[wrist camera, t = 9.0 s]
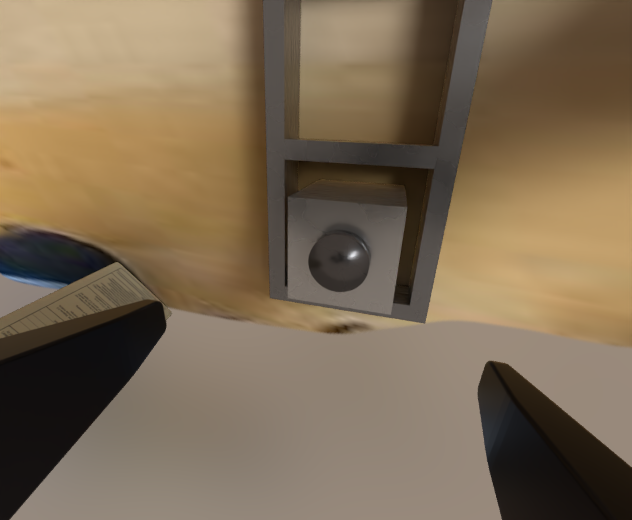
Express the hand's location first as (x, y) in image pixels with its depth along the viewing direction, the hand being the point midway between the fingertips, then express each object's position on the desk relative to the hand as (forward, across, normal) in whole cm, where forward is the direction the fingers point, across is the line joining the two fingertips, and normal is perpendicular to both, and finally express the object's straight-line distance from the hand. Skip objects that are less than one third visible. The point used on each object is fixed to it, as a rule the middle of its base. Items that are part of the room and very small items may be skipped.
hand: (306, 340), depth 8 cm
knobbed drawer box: (+12, 0, 0) cm, 12 cm away
